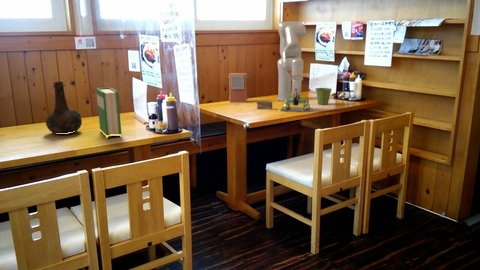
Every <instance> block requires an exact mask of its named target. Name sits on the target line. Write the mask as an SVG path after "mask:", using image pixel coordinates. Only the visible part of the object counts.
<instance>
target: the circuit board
mask: <svg viewBox="0 0 480 270" xmlns="http://www.w3.org/2000/svg"><path fill="white" fill-rule="evenodd" d="M293 99H294V97H292V98H289V99H285V100H287V102H288V103H290V104H293ZM306 101H307V103H308V104H310V99H307V98H300V99H298V103H300V104H303V105H305V104H306Z"/></svg>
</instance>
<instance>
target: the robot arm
mask: <svg viewBox="0 0 480 270" xmlns="http://www.w3.org/2000/svg"><path fill="white" fill-rule="evenodd" d="M277 30H278V35H279V38H280V40H279V41H280V42H279V54H280V57H281V58H279V59H278V60H277V71H278V72H277V73H278V74H277V75H278V81H277V82H278V85H277V86H278V87H277V88H278V96H277V97H276V100H277V101H283V102H285V99H289V98H294V99H293V103H292V105H293V106H296V107H299V104H301V103H298V99H301V93H302V81H303V80H304V60H303V59H302V46H301V44H300V41H299V38H304V37H306V34H307V28H306V26H305V24H304V23H303V22H302V21H281V22H279V23H278V25H277ZM290 71H291V74H290V73H289V72H290ZM291 96H293V97H291Z"/></svg>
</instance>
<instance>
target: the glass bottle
mask: <svg viewBox="0 0 480 270" xmlns="http://www.w3.org/2000/svg"><path fill="white" fill-rule="evenodd" d="M53 87H54V110H53V112H51V113H49V114H48V115H47V117H46V120H45V125H46V128H47V130H49V132H51V133H53V134H54V133H68V132H73V131H76V132H78V131H79V130H80V128H81V126H82V123H83V120H82V115H81V113H79V112H78V111H76V110H71V109H70V107H69V106H68V102H67V98H66V94H65V89H64V87H66V84H64V81H61V80H60V81H54V83H53V85H52V88H53ZM78 129H79V130H78ZM77 130H78V131H77Z"/></svg>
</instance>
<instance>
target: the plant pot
mask: <svg viewBox="0 0 480 270" xmlns="http://www.w3.org/2000/svg"><path fill="white" fill-rule="evenodd" d="M332 90H333V89H332V88H331V87H330V88H329V87H317V88H315V93H316V98H317V99H316V101H317V105H320V106H323V105H324V106H327V105H329V101H330V97H331V93H332Z"/></svg>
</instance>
